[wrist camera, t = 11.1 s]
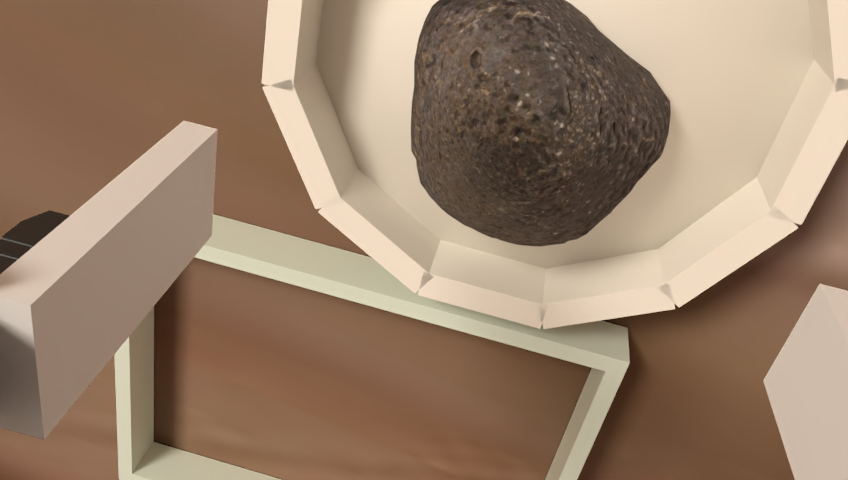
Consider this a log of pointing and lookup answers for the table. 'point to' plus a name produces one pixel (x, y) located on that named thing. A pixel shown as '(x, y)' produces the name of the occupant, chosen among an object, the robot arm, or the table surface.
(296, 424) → the table surface
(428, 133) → the stone
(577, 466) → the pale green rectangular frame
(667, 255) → the bowl
